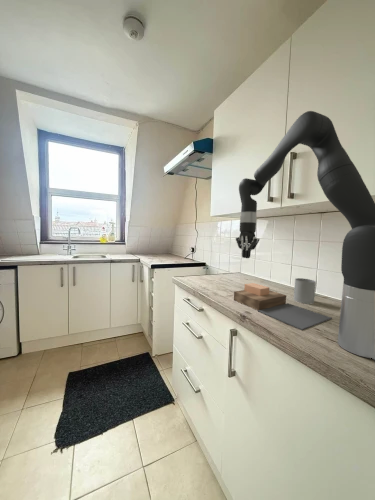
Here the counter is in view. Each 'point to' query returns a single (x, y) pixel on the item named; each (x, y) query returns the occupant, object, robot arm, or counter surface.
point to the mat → (295, 316)
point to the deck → (260, 299)
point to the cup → (304, 290)
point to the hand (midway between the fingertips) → (245, 257)
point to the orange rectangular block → (256, 289)
